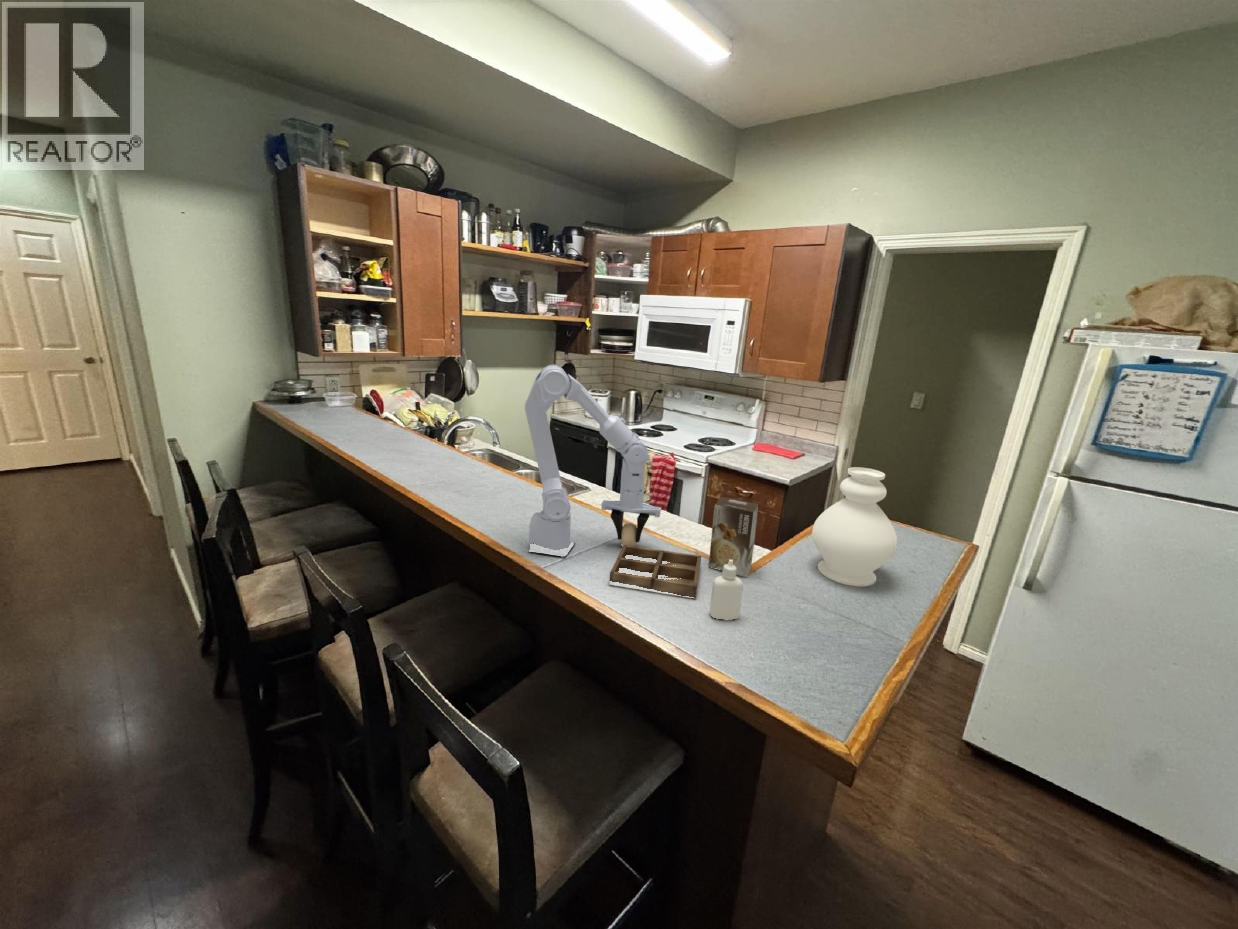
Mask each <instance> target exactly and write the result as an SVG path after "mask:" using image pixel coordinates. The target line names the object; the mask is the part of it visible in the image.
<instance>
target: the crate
mask: <svg viewBox="0 0 1238 929" xmlns="http://www.w3.org/2000/svg"><path fill="white" fill-rule="evenodd" d="M626 555H633V556H638V557H642V558H652V559H656V560H657V562H656V563H653V562H646V561H640V560H633V559H626V558H625V556H626ZM662 561H667V562H670V563H667V564H662ZM701 562H702V555H698V554H697V555H696V554H689V553H682V552H675V551H670V550H665V549H664V550H661V549H655V548H649V547H640V546H629V545H624V546H623V547H621V550H620V553H619V554H618V556H617V558H616V560H615V562H614V564H613V566H612V568H611V570H610V571H609V581H612V582H619V583H623V584H629V585H636V586H639V587H643V588H647V589H654V590H657V591H661V592H668V593H673V594H677V595H681V596H689V597H694V598H696V599H697V592H698V587H699V586H698V585H699V580H700V571H701ZM673 565H674V566H673ZM675 565H676V566H675ZM619 568H627V569H631V570H635V571H640V572H649V573H653V574H652V577H645V576H638V575H632V574H626V573H619V572H618V571H619ZM658 575H665V576H668V577H666V578H677V579H678V580H677V579H674V580H673V579H671V580H669V579H668V580H667V579H666V580H664V579H658ZM661 578H662V577H661ZM664 578H665V577H664ZM680 578H681V579H680ZM698 579H699V580H698Z"/></svg>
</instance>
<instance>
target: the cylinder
mask: <svg viewBox="0 0 1238 929" xmlns="http://www.w3.org/2000/svg"><path fill="white" fill-rule="evenodd" d="M636 535H637V524H635V523H632V522H626V523H625V524H623V527H622V531H621V540H620V545H621V544H622V545H623V546H624V545H629V546H636V545H637V544H638V542H636ZM636 547H637V546H636Z"/></svg>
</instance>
